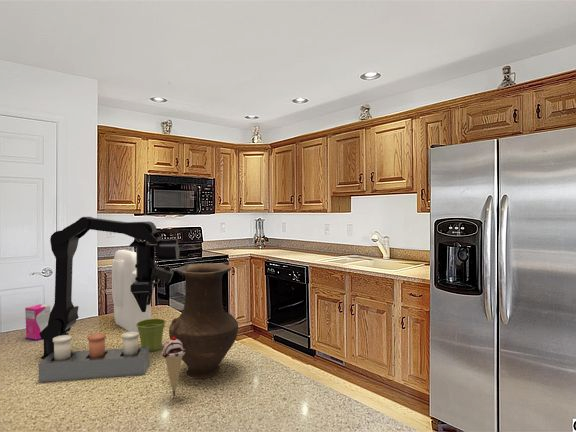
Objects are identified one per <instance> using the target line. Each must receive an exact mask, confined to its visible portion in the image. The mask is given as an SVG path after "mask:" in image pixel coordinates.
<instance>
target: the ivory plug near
mask: <svg viewBox="0 0 576 432" xmlns="http://www.w3.org/2000/svg"><path fill="white" fill-rule="evenodd" d="M72 340H73V337H72V335H70V334H69V335H61V336H57V337H54V338H53V342H54V361H59V360H69V359H70V358H71V352H72V351H71V350H72V348H71V347H72V346H71V345H72V344H71V341H72Z"/></svg>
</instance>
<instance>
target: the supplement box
mask: <svg viewBox="0 0 576 432" xmlns="http://www.w3.org/2000/svg"><path fill="white" fill-rule="evenodd" d="M24 311H25V335H26V336H25V337H26V338H25V339H26V340H30V341H34V342H37V341H41V340H42V339H41V337H40V334H39V333H40V332H41V331H42V330H43V329H44V328H45V327H46V326H47V325H48V320H49V316H50V313H51V305H49V304H43V303H41V304H40V303H39V304H36V305H32V306H28V307H25V309H24Z"/></svg>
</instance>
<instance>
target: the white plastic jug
mask: <svg viewBox="0 0 576 432" xmlns="http://www.w3.org/2000/svg"><path fill="white" fill-rule="evenodd" d="M135 265H136V252H135V251H132V250H127V249H118V250H117V251H115V253H114V257H113V260H112V264H111V295H112V302H113V316H114V321H115V324H116V325H117V326H119V327H121V328H122V329H124V330H125V331H126V332H130V331H137V332H139V330H138V327H137V326H136V323H138V322H140V321H143V320H147V319H152V312H151V310H152V306H151V303H152V302H151V303H150V305H147V307H146V312H142V311H141V309H140V307H139V305H138V303H137V301H136V299H135V297H134V295H133V294H132V292H131V285H132V284H133V283H134V282H135V277H137V274H136V268H135Z"/></svg>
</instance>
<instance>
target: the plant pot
mask: <svg viewBox="0 0 576 432" xmlns="http://www.w3.org/2000/svg"><path fill="white" fill-rule="evenodd" d="M166 323H167V321H166V320H165V319H163V318H151V319H147V320H143V321H140V322H138V323H136V326H137V327H138V330H139V340H140V345H141V347H149V352H155V351H159V350H160V349H161V347H162V344H163V334H164V329H165V325H166Z"/></svg>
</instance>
